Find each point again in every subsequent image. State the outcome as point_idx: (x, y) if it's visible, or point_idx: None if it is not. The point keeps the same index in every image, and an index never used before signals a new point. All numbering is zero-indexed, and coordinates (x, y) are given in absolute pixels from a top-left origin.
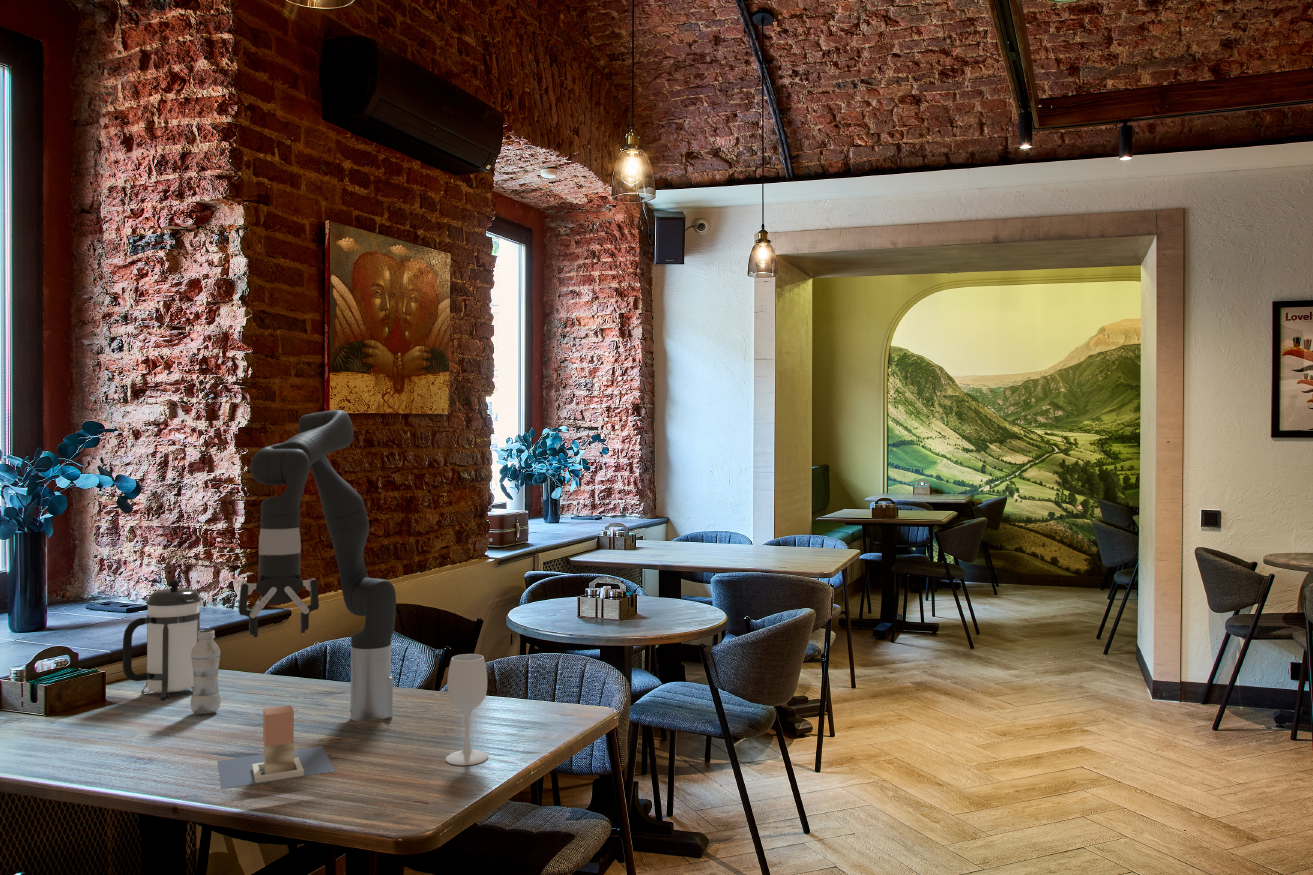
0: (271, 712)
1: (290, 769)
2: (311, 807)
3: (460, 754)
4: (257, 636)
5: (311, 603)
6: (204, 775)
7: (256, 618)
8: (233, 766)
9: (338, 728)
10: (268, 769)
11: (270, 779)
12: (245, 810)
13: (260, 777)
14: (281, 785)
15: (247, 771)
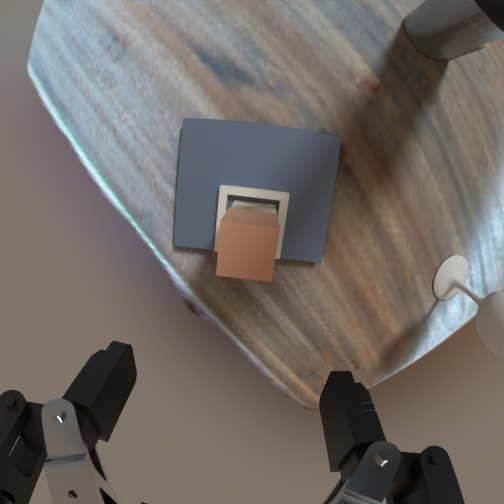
0: (230, 262)
1: None
2: (263, 330)
3: (448, 282)
4: (135, 379)
5: (415, 482)
6: (167, 141)
7: (102, 439)
8: (199, 156)
9: (383, 44)
10: None
11: None
12: (198, 300)
13: None
14: None
15: (213, 191)
